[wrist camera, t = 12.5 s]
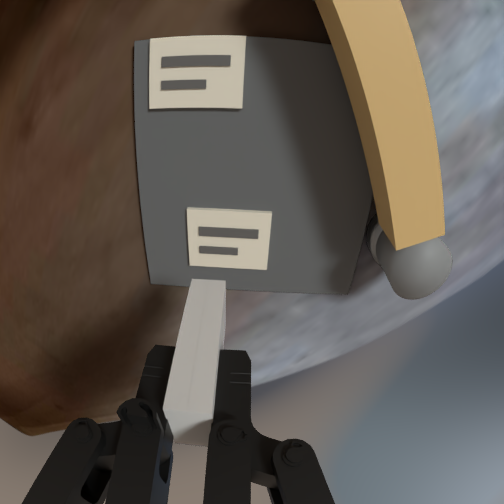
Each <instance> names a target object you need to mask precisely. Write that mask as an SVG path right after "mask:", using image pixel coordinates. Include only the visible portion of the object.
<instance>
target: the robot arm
mask: <svg viewBox="0 0 504 504" xmlns="http://www.w3.org/2000/svg"><path fill="white" fill-rule="evenodd" d="M225 325H226V281H224V280H206V279H192V281H191V285H190V289H189V293H188V297H187V301H186V305H185V309H184V313H183V318H182V322H181V326H180V330H179V335H178V339H177V344H176V347H173V346H163V345H155V346H154V347H153V349H152V350H151V351H150V352H149V353H148V355H147V359H146V362H145V367H144V369H143V373H142V377H141V380H140V384H139V388H138V391H137V395H136V398H133V399H130V400H127V401H125V402H124V403H122V404H121V405H120V406H119V408H118V410H117V414H118V416H119V418H120V419H121V420H120V421H117V422H111V423H102V424H97V423H96V422H95V421H93V420H92V419H89V418H78V419H76V420H74V421H72V423H71V424H70V425H69V426H68V427H67V429H66V430H65V432H64V434H63V435H62V437H61V438H60V440H59V442H58V443H57V445H56V446H55V448H54V450H53V451H52V453H51V455H50V456H49V458H48V460H47V461H46V463H45V465H44V466H43V468H42V470H41V471H40V473H39V475H38V476H37V478H36V480H35V481H34V483H33V485H32V487H31V488H30V490H29V492H28V494H27V495H26V497H25V499H24V501H23V502H22V504H103V503H104V501H105V499H106V503H105V504H167V502H168V494H169V486H170V478H171V471H172V463H173V452H172V443H173V439H174V442H175V443H177V444H185V445H195V446H206V447H208V453H207V465H206V475H205V488H204V500H203V504H251V503H250V501H251V482H253V483H256V484H259V485H262V486H266V487H267V490H268V493H269V496H270V499H271V502H272V504H335V503H334V500H333V498H332V495H331V493H330V490H329V488H328V485H327V483H326V480H325V478H324V475H323V473H322V470H321V467H320V465H319V463H318V460H317V457H316V455H315V452H314V450H313V449H312V447H311V446H310V445H309V444H308V443H306V442H305V441H303V440H299V439H287V440H285V441H278V440H275V439H272V438H268V437H266V436H264V435H262V434H260V433H259V432H258V431H257V430H256V429H255V428H254V427H253V425H252V422H251V360H250V358H249V356H248V354H247V352H246V351H242V350H223V348H224V336H225Z"/></svg>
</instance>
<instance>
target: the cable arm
mask: <svg viewBox="0 0 504 504" xmlns="http://www.w3.org/2000/svg"><path fill="white" fill-rule="evenodd" d="M312 1H315V3H316V5H317V7H318V10H319V12H320V15H321V17H322V20H323V22H324V25H325V27H326V30H327V33H328V35H329V38H330V41H331V43H332V46H333V49H334V52H335V55H336V58H337V61H338V63H339V66H340V69H341V73H342V76H343V79H344V82H345V85H346V88H347V91H348V95H349V98H350V101H351V105H352V108H353V112H354V115H355V119H356V123H357V126H358V130H359V134H360V138H361V142H362V146H363V150H364V154H365V158H366V162H367V167H368V171H369V176H370V180H371V185H372V190H373V195H374V200H375V205H376V210H377V216H378V222H379V225H380V226H381V228H382V229H383V231H382V232H381V233H380V235H379V237H378V240H377V243H376V255H377V258H378V260H379V262H380V264H381V266H382V268H383V270H384V272H385V274H386V276H387V278H388V280H389V282H390V284H391V286H392V288H393V290H394V292H395V293H396V294H397V295H399V296H400V297H402V298H405V299H412V300H413V299H420V298H423V297H426V296H428V295H430V294H432V293H433V292H435V291H436V290H437V289H438V288H440V287H441V286H442V284H443V283H444V282H445V281H446V279H447V277H448V276H449V274H450V271H451V268H452V255H451V252H450V250H449V249H448V247H447V246H446V245H445V244H444V243H443V241H442V240H441V239H440V238H439V237H440V236H443V235H445V223H444V205H443V192H442V181H441V171H440V163H439V155H438V148H437V141H436V135H435V129H434V123H433V117H432V112H431V107H430V102H429V97H428V93H427V88H426V84H425V80H424V76H423V72H422V68H421V64H420V60H419V57H418V53H417V50H416V46H415V43H414V40H413V36H412V33H411V30H410V27H409V24H408V21H407V18H406V15H405V13H404V10H403V7H402V4H401V2H400V0H312Z"/></svg>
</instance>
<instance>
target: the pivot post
mask: <svg viewBox="0 0 504 504" xmlns="http://www.w3.org/2000/svg"><path fill="white" fill-rule="evenodd" d="M382 231H383V229H382V228H381V226H380V225H379V222H378V216H377V214H376V215H375V216H374V217H373V218H372V220H371V222H370V223H369V226H368V229H367V233H366V241H367V245H368V248H369V250H370V252H371V254H372V256H373V257H374V259H375V261H376V262H377V263H378V264H379V265H380V266H381V264H380V262H379V260H378V258H377V255H376V243H377V240H378V237H379V235H380V233H381V232H382Z"/></svg>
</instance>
